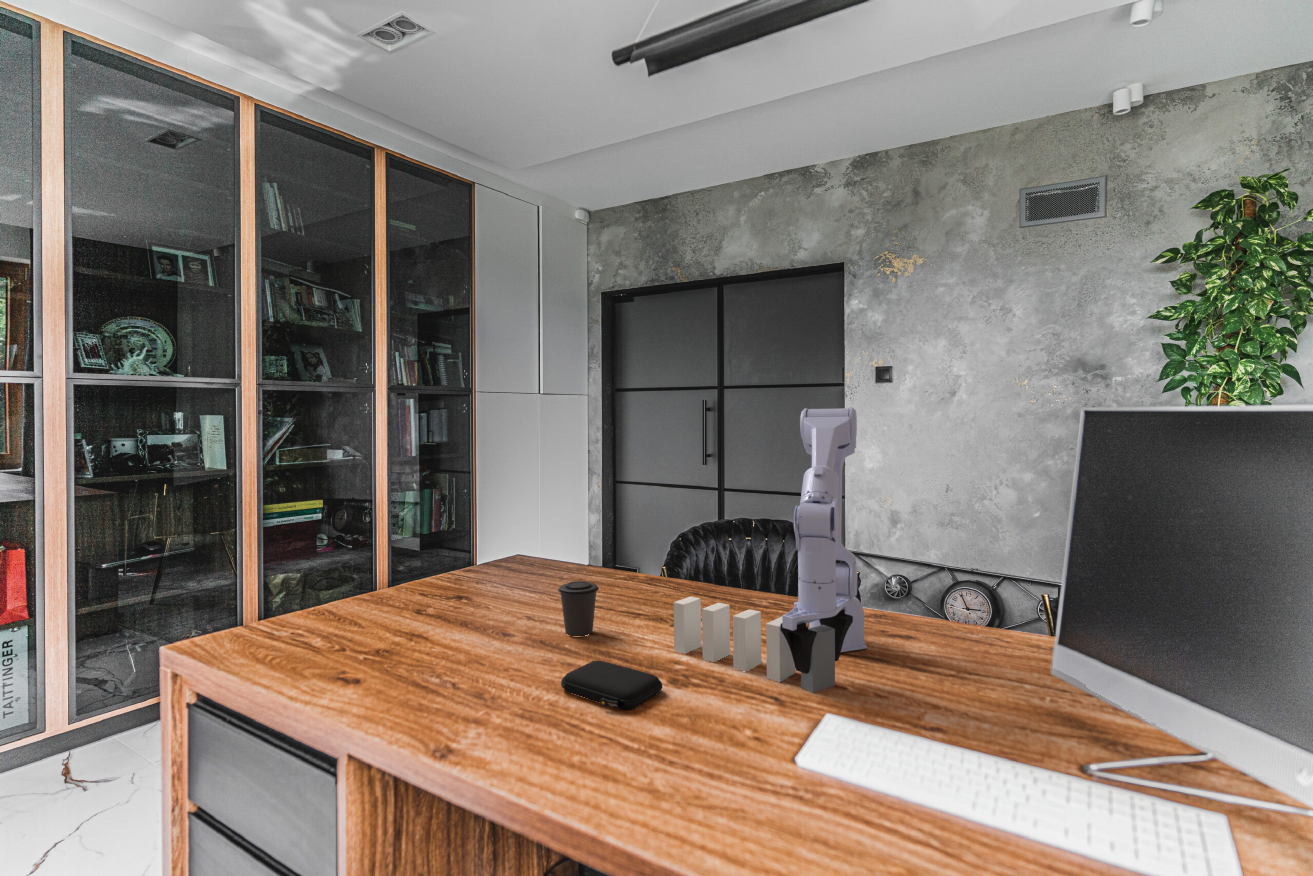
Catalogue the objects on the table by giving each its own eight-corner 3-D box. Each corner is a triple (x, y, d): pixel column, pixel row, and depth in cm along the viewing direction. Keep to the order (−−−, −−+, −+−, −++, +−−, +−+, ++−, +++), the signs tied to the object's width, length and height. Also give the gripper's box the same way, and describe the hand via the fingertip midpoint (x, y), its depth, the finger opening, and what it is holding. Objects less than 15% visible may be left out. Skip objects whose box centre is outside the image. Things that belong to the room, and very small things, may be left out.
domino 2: (730, 654, 113) (729, 604, 112) (713, 663, 109) (713, 611, 109) (719, 651, 114) (718, 602, 114) (702, 659, 110) (702, 608, 110)
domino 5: (835, 685, 99) (834, 628, 99) (812, 693, 96) (812, 634, 96) (823, 680, 101) (823, 624, 101) (801, 687, 98) (800, 630, 98)
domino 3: (761, 663, 108) (760, 611, 108) (745, 672, 104) (744, 618, 104) (749, 660, 110) (749, 609, 110) (733, 668, 106) (732, 616, 106)
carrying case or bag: (550, 696, 97) (625, 721, 89) (550, 676, 97) (625, 699, 89) (595, 673, 106) (667, 694, 97) (595, 655, 106) (667, 674, 97)
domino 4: (795, 673, 104) (794, 619, 104) (779, 682, 100) (779, 626, 100) (782, 669, 106) (782, 616, 105) (766, 678, 102) (766, 623, 102)
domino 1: (701, 646, 117) (700, 598, 117) (684, 654, 113) (683, 604, 113) (691, 643, 118) (690, 596, 118) (674, 651, 115) (673, 602, 114)
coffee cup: (550, 637, 123) (550, 586, 123) (571, 624, 131) (570, 576, 130) (587, 642, 120) (586, 590, 120) (606, 629, 128) (605, 580, 127)
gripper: (823, 567, 106) (824, 647, 106) (766, 582, 97) (767, 669, 97) (860, 575, 100) (861, 659, 101) (803, 591, 91) (804, 683, 92)
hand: (817, 665), depth 98 cm, fingers open, 7 cm apart
